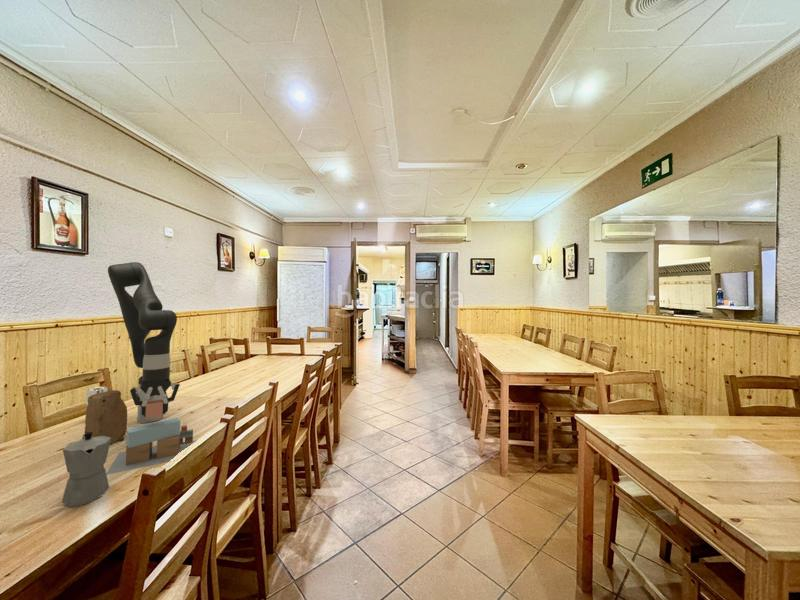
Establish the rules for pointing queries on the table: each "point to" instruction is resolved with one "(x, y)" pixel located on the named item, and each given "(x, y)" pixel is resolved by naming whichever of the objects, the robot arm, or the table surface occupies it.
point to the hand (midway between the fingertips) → (155, 414)
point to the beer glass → (95, 392)
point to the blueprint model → (186, 436)
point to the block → (106, 415)
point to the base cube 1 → (138, 453)
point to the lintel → (152, 432)
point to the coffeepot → (86, 470)
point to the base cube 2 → (168, 446)
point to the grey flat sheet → (121, 465)
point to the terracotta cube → (154, 409)
